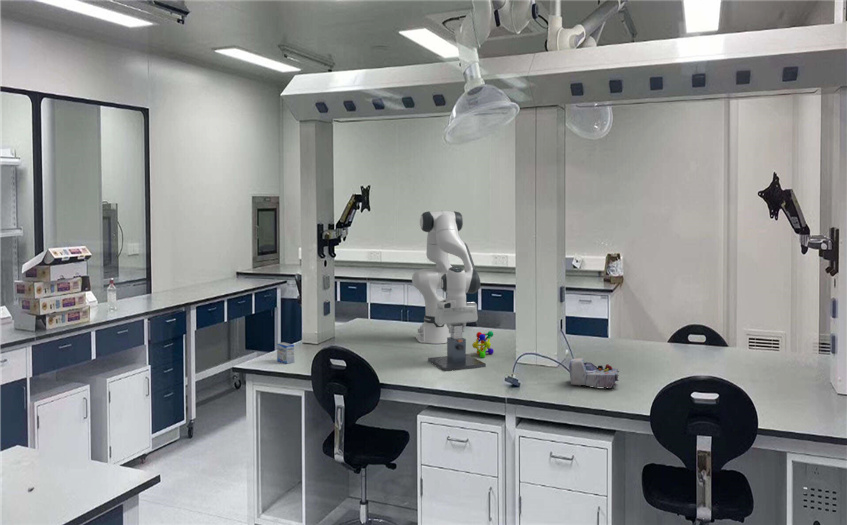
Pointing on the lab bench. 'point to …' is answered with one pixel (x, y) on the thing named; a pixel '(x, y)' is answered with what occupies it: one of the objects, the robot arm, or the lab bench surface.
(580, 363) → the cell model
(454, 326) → the post
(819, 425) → the lab bench surface
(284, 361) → the medicine box
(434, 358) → the dark grey socket base
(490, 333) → the molecular model
